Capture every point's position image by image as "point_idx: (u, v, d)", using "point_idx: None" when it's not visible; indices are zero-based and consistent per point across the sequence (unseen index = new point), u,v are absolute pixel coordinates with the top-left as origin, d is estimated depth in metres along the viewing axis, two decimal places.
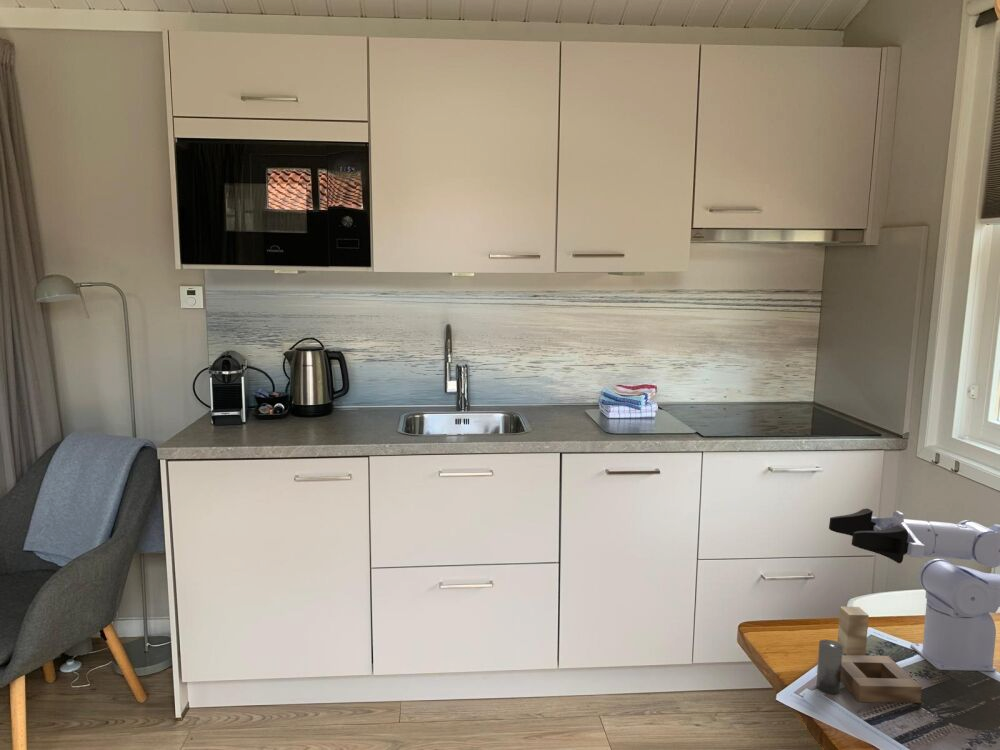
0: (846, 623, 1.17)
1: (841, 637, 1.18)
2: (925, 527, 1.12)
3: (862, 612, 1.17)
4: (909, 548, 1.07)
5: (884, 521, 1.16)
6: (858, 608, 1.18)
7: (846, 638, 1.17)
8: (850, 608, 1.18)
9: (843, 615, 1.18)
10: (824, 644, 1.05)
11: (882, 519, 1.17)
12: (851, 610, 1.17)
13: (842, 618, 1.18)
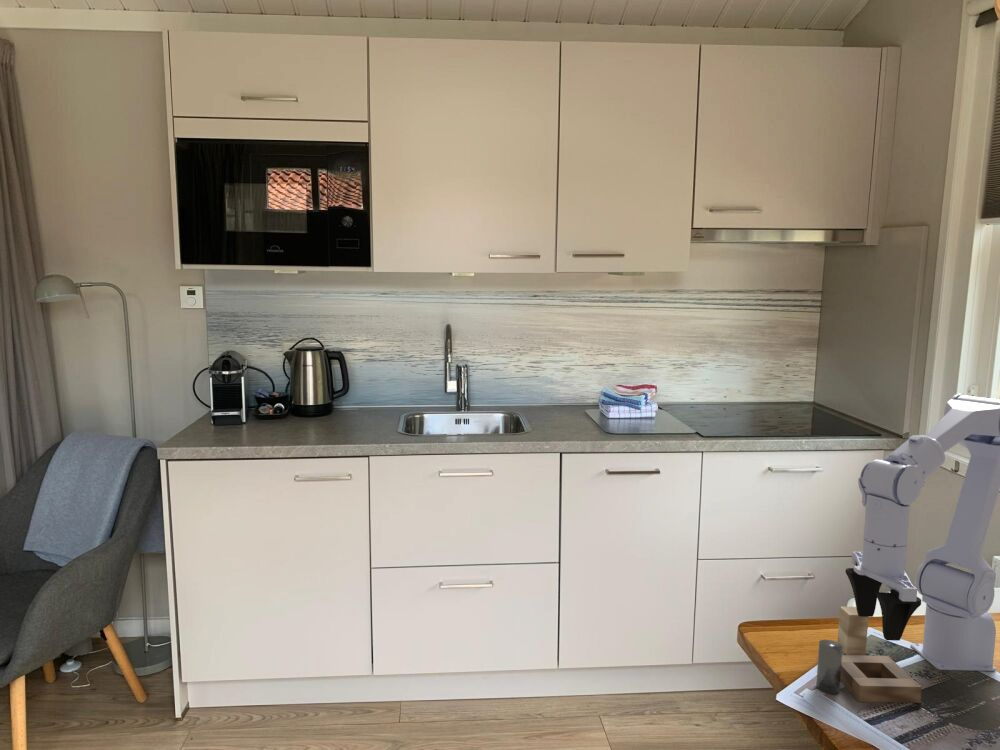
0: (846, 623, 1.17)
1: (841, 637, 1.18)
2: (874, 550, 1.03)
3: None
4: None
5: None
6: None
7: (846, 638, 1.17)
8: (850, 608, 1.18)
9: (843, 615, 1.18)
10: (824, 644, 1.05)
11: None
12: (851, 610, 1.17)
13: (842, 618, 1.18)
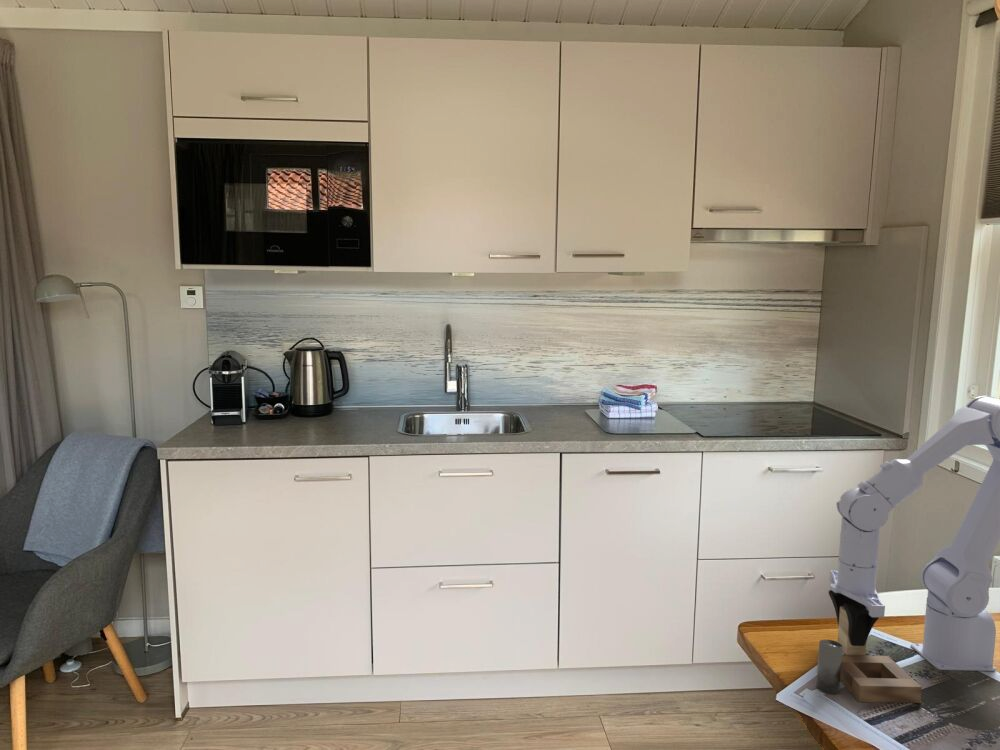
0: (846, 623, 1.17)
1: (840, 637, 1.18)
2: (847, 571, 1.15)
3: None
4: None
5: None
6: None
7: (846, 638, 1.17)
8: None
9: (843, 615, 1.18)
10: (824, 644, 1.05)
11: None
12: None
13: (842, 618, 1.18)
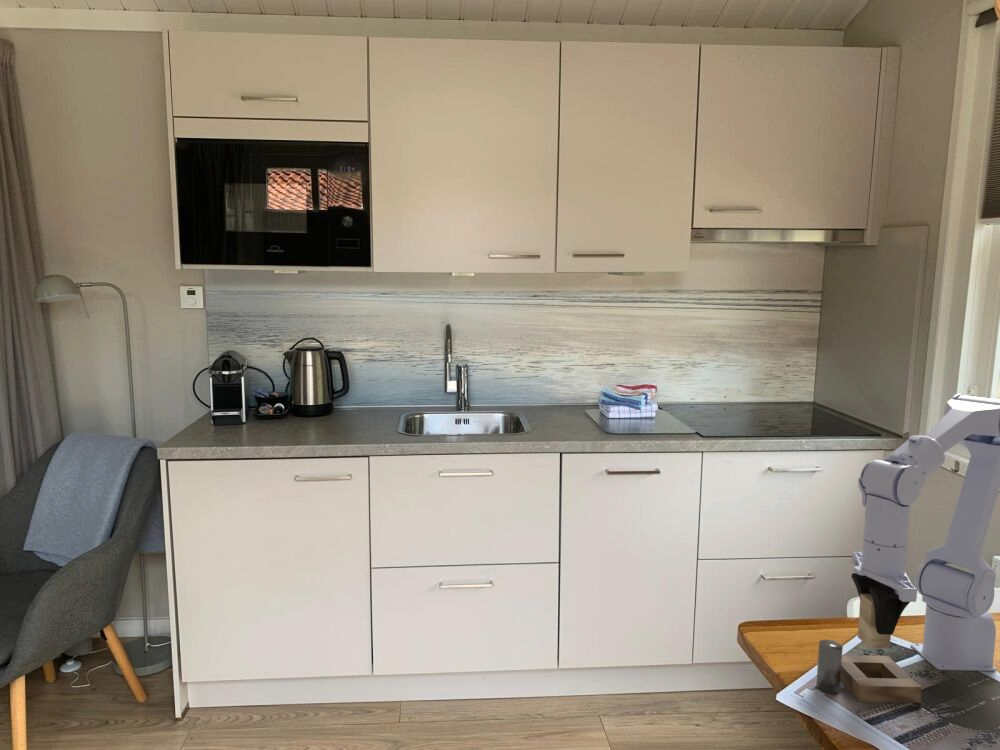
0: (868, 612, 1.05)
1: (862, 628, 1.07)
2: (874, 550, 1.03)
3: None
4: None
5: None
6: None
7: (868, 628, 1.05)
8: None
9: (864, 603, 1.06)
10: (824, 644, 1.05)
11: None
12: None
13: (863, 606, 1.06)
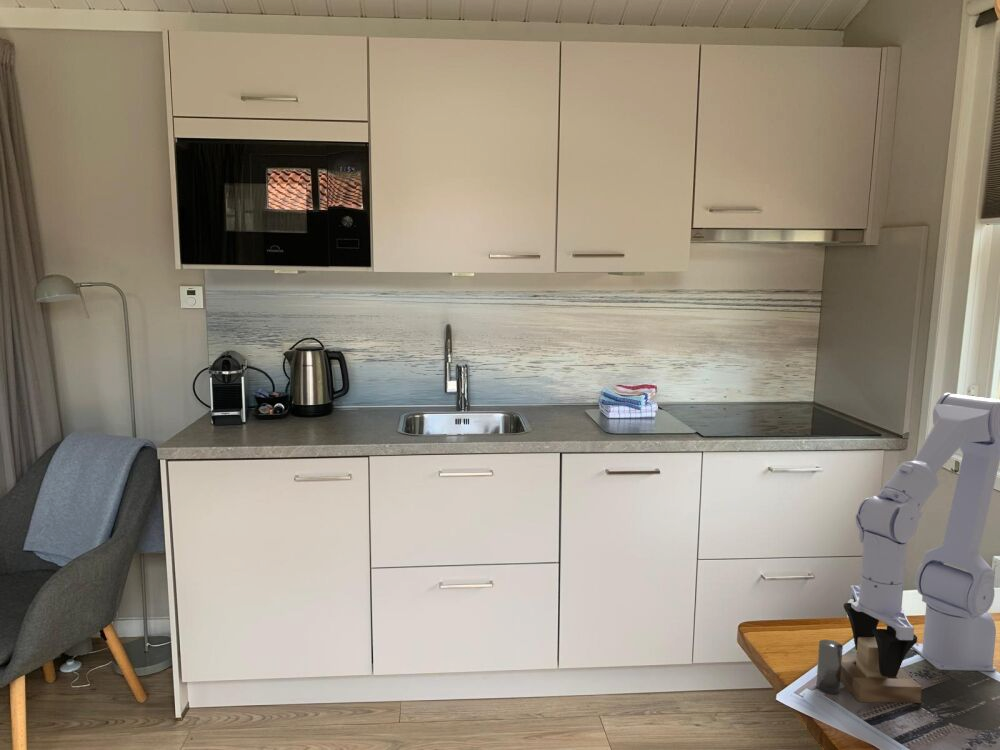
0: (865, 656, 1.06)
1: None
2: (871, 587, 1.04)
3: None
4: None
5: None
6: None
7: (865, 673, 1.06)
8: (869, 639, 1.07)
9: (862, 647, 1.07)
10: (824, 644, 1.05)
11: None
12: (871, 642, 1.06)
13: (860, 650, 1.07)
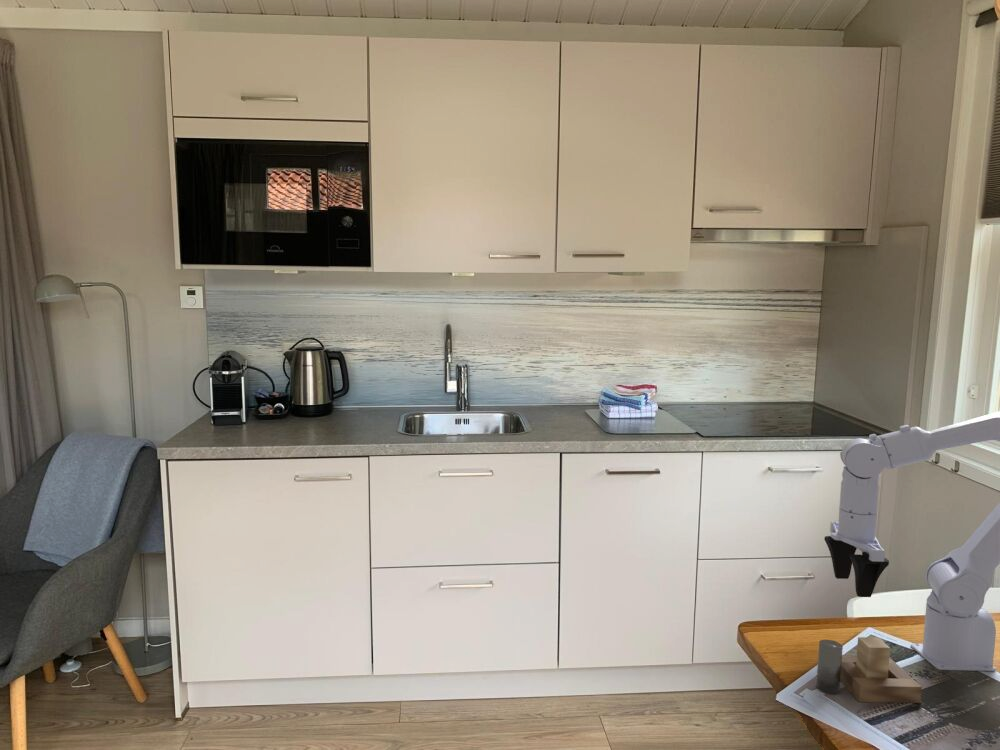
0: (865, 656, 1.06)
1: None
2: (848, 518, 1.17)
3: (883, 644, 1.06)
4: None
5: None
6: (878, 639, 1.07)
7: (865, 673, 1.06)
8: (869, 639, 1.07)
9: (862, 647, 1.07)
10: (824, 644, 1.05)
11: None
12: (871, 642, 1.06)
13: (861, 650, 1.07)
